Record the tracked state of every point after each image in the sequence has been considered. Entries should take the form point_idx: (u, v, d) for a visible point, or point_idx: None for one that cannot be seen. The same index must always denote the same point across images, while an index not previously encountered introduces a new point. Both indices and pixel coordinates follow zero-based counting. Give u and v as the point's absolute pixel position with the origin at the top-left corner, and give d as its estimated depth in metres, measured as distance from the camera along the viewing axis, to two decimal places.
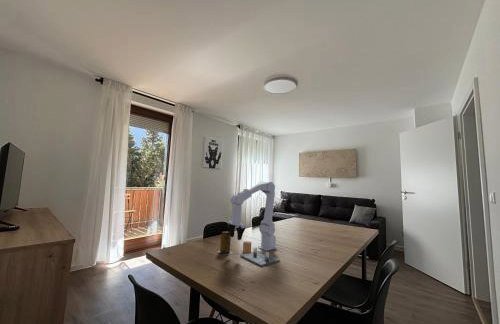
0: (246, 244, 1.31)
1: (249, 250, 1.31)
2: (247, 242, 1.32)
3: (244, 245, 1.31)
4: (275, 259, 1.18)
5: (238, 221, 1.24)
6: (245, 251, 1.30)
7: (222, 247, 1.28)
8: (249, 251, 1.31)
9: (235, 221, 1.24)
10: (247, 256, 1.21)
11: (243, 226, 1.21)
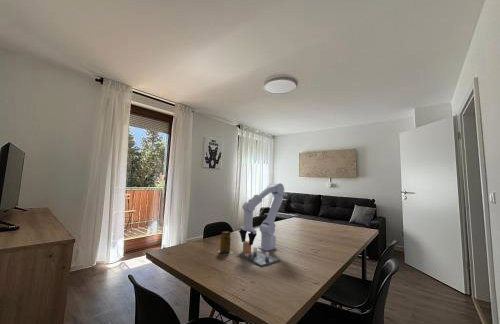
0: (246, 244, 1.31)
1: (249, 250, 1.31)
2: (247, 242, 1.32)
3: (244, 245, 1.31)
4: (275, 259, 1.18)
5: (250, 227, 1.32)
6: (245, 251, 1.30)
7: (222, 247, 1.28)
8: (249, 251, 1.31)
9: (247, 227, 1.31)
10: (247, 256, 1.21)
11: (255, 232, 1.28)
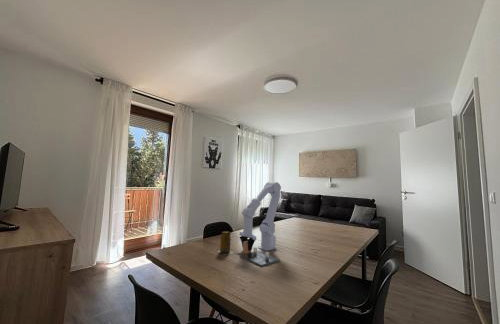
0: (246, 244, 1.31)
1: None
2: (247, 242, 1.32)
3: (244, 245, 1.31)
4: (275, 259, 1.18)
5: (249, 233, 1.31)
6: (245, 251, 1.30)
7: (222, 247, 1.28)
8: (249, 251, 1.31)
9: (247, 233, 1.31)
10: (247, 256, 1.21)
11: (254, 238, 1.28)
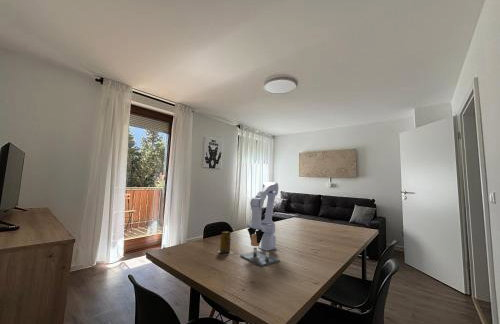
0: (254, 237, 1.22)
1: (258, 243, 1.22)
2: (255, 235, 1.24)
3: (252, 238, 1.23)
4: (275, 259, 1.18)
5: (258, 224, 1.23)
6: (253, 244, 1.22)
7: (222, 247, 1.28)
8: (258, 244, 1.22)
9: (255, 224, 1.23)
10: (247, 256, 1.21)
11: (264, 230, 1.20)
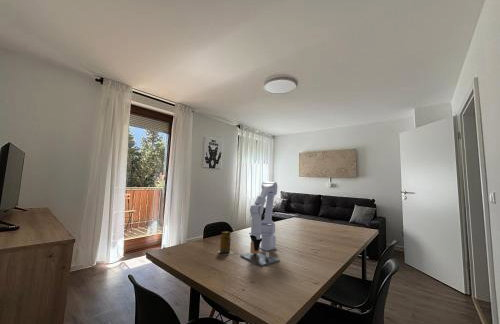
0: (252, 244, 1.22)
1: (255, 251, 1.21)
2: None
3: (251, 245, 1.23)
4: (275, 259, 1.18)
5: (256, 232, 1.22)
6: (251, 251, 1.22)
7: (222, 247, 1.28)
8: (255, 252, 1.21)
9: (253, 231, 1.23)
10: (247, 256, 1.21)
11: (258, 237, 1.18)
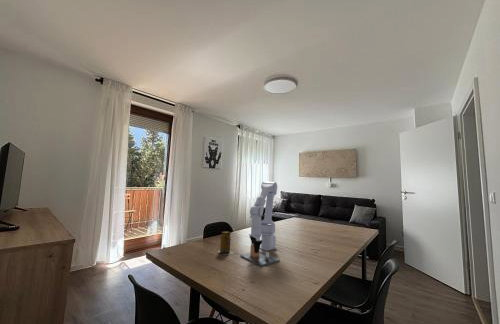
0: (252, 247, 1.22)
1: (255, 254, 1.21)
2: None
3: (251, 247, 1.23)
4: (275, 259, 1.18)
5: (256, 233, 1.22)
6: (251, 254, 1.22)
7: (222, 247, 1.28)
8: (255, 255, 1.21)
9: (253, 233, 1.23)
10: (247, 256, 1.21)
11: (258, 239, 1.18)
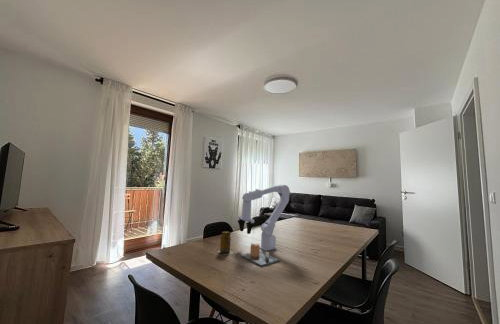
0: (252, 247, 1.22)
1: (255, 254, 1.21)
2: (254, 245, 1.23)
3: (251, 247, 1.23)
4: (275, 259, 1.18)
5: (248, 217, 1.38)
6: (251, 254, 1.22)
7: (222, 247, 1.28)
8: (255, 255, 1.21)
9: (245, 217, 1.37)
10: (247, 256, 1.21)
11: (252, 221, 1.34)
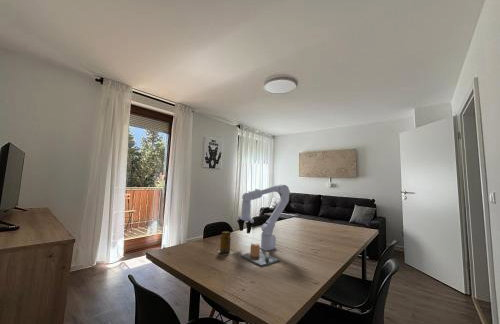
0: (252, 247, 1.22)
1: (255, 254, 1.21)
2: (254, 245, 1.23)
3: (251, 247, 1.23)
4: (275, 259, 1.18)
5: (247, 216, 1.39)
6: (251, 254, 1.22)
7: (222, 247, 1.28)
8: (255, 255, 1.21)
9: (245, 216, 1.38)
10: (247, 256, 1.21)
11: (252, 221, 1.35)
